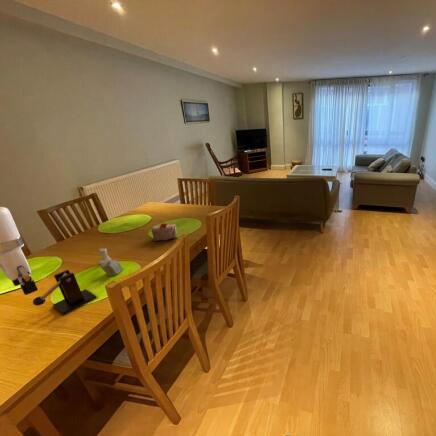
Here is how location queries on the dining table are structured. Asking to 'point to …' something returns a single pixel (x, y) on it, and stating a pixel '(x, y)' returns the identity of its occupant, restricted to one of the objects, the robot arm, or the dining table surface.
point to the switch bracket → (71, 293)
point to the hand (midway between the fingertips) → (26, 288)
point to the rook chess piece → (104, 254)
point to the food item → (164, 232)
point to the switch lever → (46, 294)
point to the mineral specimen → (110, 267)
